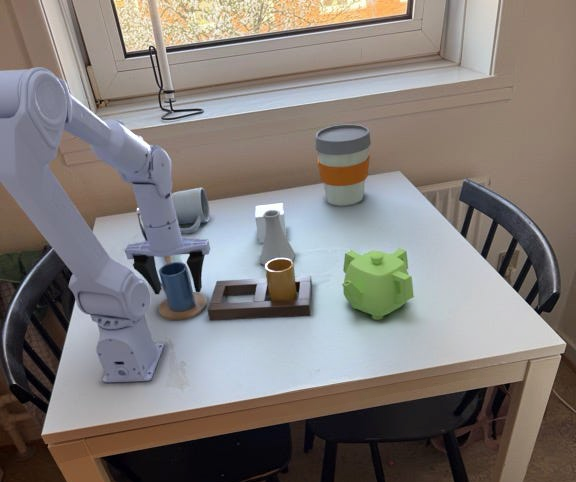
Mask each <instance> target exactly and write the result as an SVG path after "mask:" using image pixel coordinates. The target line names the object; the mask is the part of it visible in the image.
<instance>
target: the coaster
mask: <svg viewBox="0 0 576 482" xmlns="http://www.w3.org/2000/svg"><path fill="white" fill-rule="evenodd" d="M193 293H194V297H195V301H196V303H195V306H194V307H193V308H191V309H189V310H187V311H184V312H174V311H171V310H170V308H169V305H168V302H167V299H166V298H165V299H164V300H163V301H161V303H160V304H159V306H158V314H159V315H160V316H161V317H162V318H163V319H165V320H169V321H183V320H189V319H191V318H193V317H196V316H198V315H199V314H201V313H202V312H203V311H204V310H205V309H206V308H207V305H208V300H207V299H206V296H205V295H203V294H202V293H200V292H196V291H195V292H194V291H193Z"/></svg>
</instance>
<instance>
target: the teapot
mask: <svg viewBox="0 0 576 482" xmlns="http://www.w3.org/2000/svg"><path fill="white" fill-rule="evenodd" d="M342 269H343V270H342V271H343V272H344V273H345V276H344V280H343V282H342V283H341V285H342V288H343V289H342V290H343V291H342V292H343V296H344V298H345V299H346V301H347V302H348V303H349V304H350V305H351V308H352V309H353V310H359V311H361V312H364V313H365V314H369V315H371V318H372V319H373V320H375V321H377V320H378V321H379V320H382V319H383V318H384V316H386V315H389V314H390V313H392V312H395V311H396V310H398V309H399V308H401V307H402V306H403V305H404V304H406V303H407V302H408V301H410V300H411V299H413V298H414V296H415V295H414V286H413V277H412V276H413V275H410V274H409V271H408V270H409V260H408V251H407V250H405V249H403V248H398V249H396V250H394V251H393V252H391V253H388V252H384V251H381V250H376V249H375V250H370V251H367V252H365V253H363V254H361V253H358V252H357V251H354V250H352V249H350V250H348V251H347V252H345V253H344V260H343V268H342Z"/></svg>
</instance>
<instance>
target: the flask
mask: <svg viewBox="0 0 576 482" xmlns="http://www.w3.org/2000/svg"><path fill="white" fill-rule="evenodd" d="M279 215H280V211H277V210H268V211H266V212H264V214H263V217H264V218H265V221H266V234H265V239H264V243H262V244H263V245H262V250H261V254H260V258H259V264H261V265H263V266H265V264H266V263H267V262H268V261H270V260H272V259H276V258H288V259H290V260H292V261H294V260H295V257H296V252H295V251H294V250H293V247H292V246H291V244H290V242H289V240H288V238H287V235H286V236H285V234H284V232H283V230H282V227H281V224H280V220H279Z"/></svg>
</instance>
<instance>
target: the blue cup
mask: <svg viewBox="0 0 576 482" xmlns="http://www.w3.org/2000/svg"><path fill="white" fill-rule="evenodd" d="M182 262H183V261H182ZM182 262H173V263H169V264H166V265H164V266H162V267H161V268H160V270H159V274H160V278H161V281H162V284H161V286H162V288H163V291H164V295H165V299H167V302H168V305H169V308H170V310H171V311H174V312H184V311H187V310H189V309H191V308H193V307H194V306H195V303H196V301H195V297H194V293H193V292H194V288H193V284H192V281H191V277H190V272H189V268H188V265H187V263H185V262H183V263H182Z"/></svg>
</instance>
